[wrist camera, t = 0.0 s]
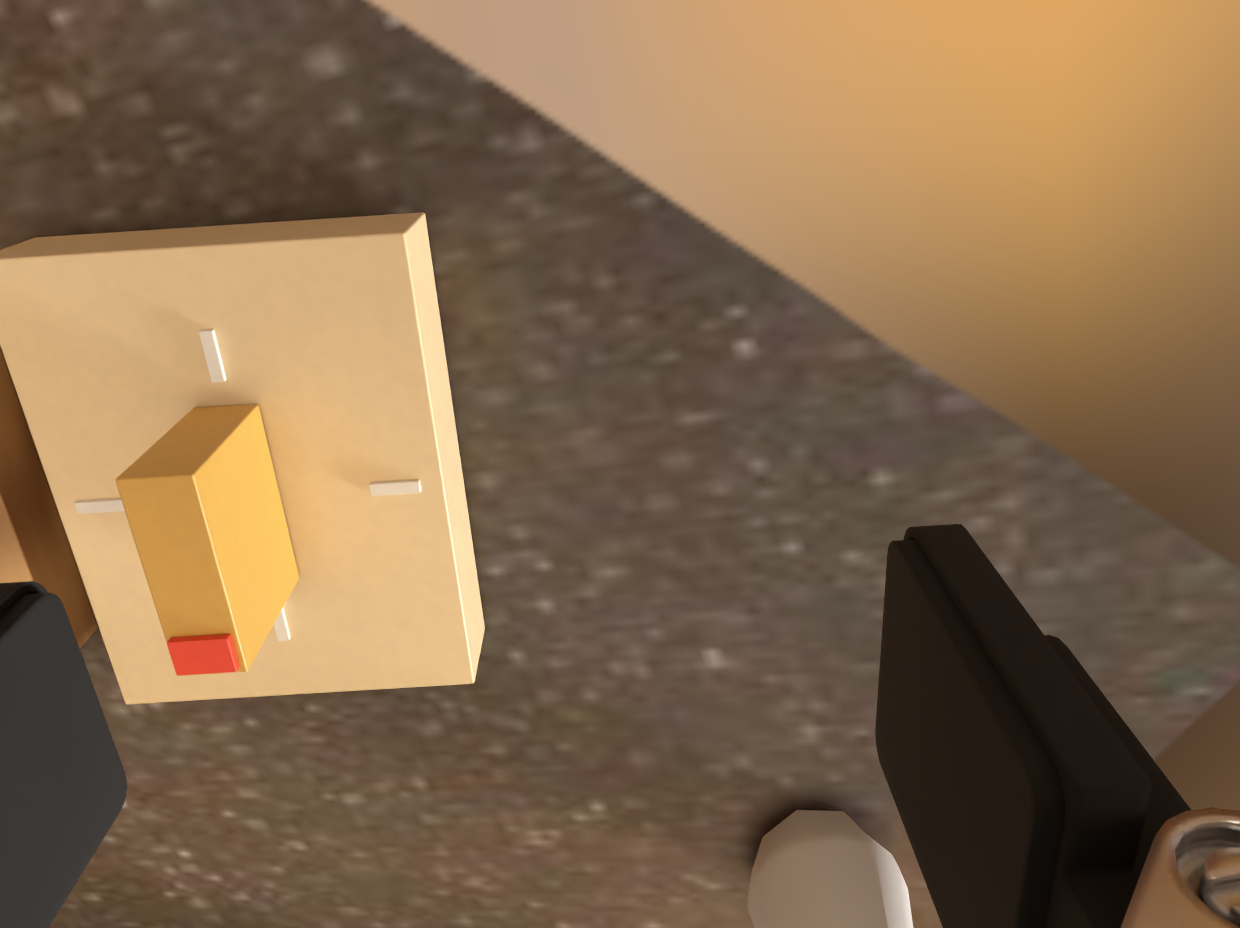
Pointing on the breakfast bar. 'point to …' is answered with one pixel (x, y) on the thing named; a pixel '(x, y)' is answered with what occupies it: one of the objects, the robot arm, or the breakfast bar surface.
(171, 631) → the red-tipped yellow block
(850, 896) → the salt shaker
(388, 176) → the breakfast bar surface
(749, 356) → the breakfast bar surface
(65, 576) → the wooden button base
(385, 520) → the dial plate
